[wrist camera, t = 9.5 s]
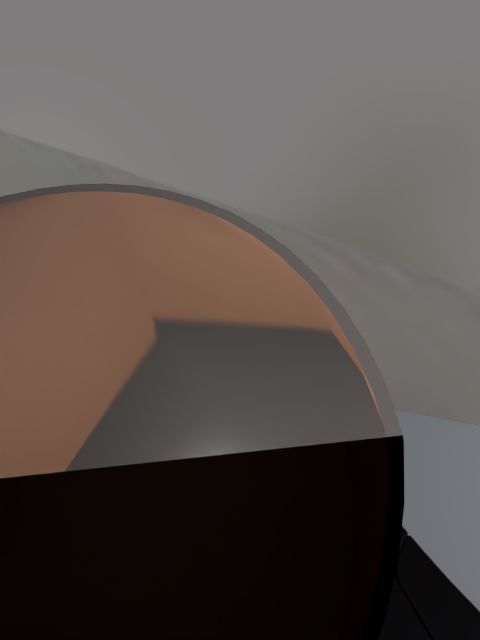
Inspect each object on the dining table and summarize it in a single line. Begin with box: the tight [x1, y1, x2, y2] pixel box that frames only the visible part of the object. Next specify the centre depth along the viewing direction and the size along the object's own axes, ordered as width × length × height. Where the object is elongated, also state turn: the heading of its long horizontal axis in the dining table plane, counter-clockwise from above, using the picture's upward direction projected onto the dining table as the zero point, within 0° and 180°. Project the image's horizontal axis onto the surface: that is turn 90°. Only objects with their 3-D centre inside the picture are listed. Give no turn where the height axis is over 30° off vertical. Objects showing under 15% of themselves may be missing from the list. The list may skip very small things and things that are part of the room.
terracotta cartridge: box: [0, 184, 404, 640], centre depth 8 cm, size 5×5×13 cm
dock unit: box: [394, 409, 480, 611], centre depth 17 cm, size 12×18×4 cm, turn 78°
